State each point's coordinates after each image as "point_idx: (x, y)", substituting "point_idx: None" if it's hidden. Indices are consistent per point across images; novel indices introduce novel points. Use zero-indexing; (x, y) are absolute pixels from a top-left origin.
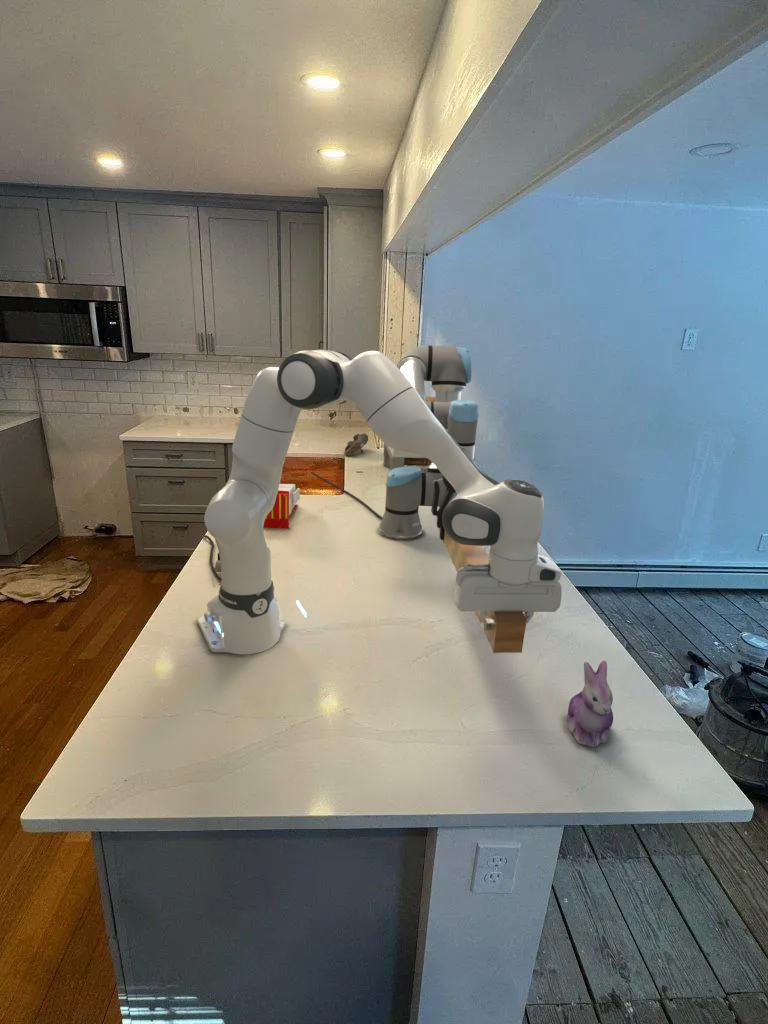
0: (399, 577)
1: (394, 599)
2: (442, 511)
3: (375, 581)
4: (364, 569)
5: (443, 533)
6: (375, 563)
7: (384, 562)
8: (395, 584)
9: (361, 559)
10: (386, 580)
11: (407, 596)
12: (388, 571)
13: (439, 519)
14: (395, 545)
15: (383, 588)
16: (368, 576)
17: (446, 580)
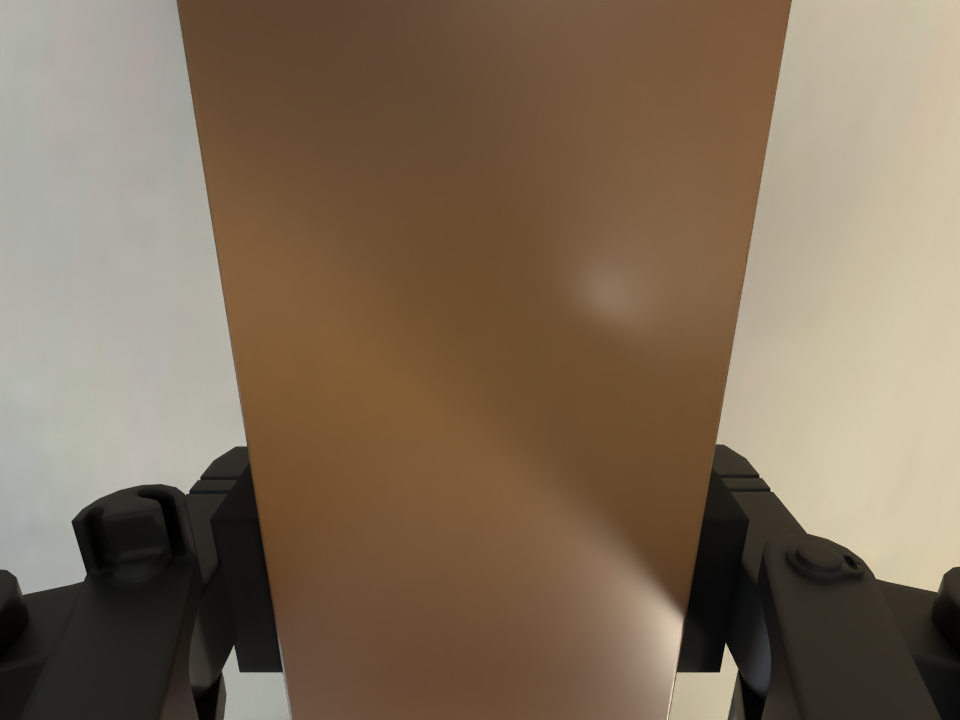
0: (767, 344)
1: (894, 33)
2: (847, 651)
3: (931, 291)
4: (943, 440)
5: None
6: (854, 510)
7: (799, 521)
8: (819, 252)
9: (917, 553)
10: (859, 305)
11: (792, 79)
12: (810, 417)
13: (778, 529)
14: (682, 698)
15: (913, 196)
16: (951, 355)
17: None
